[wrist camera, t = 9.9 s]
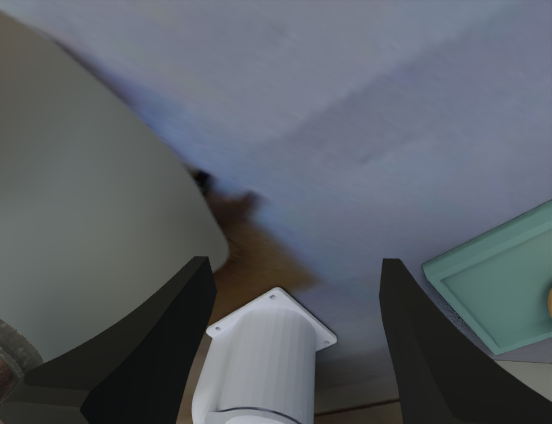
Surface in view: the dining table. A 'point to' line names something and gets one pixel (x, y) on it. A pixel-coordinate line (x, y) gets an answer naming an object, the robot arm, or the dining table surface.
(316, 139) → the dining table surface
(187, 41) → the dining table surface
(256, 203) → the dining table surface
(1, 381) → the tankard
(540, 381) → the wall
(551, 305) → the ball
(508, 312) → the tray
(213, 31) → the dining table surface
